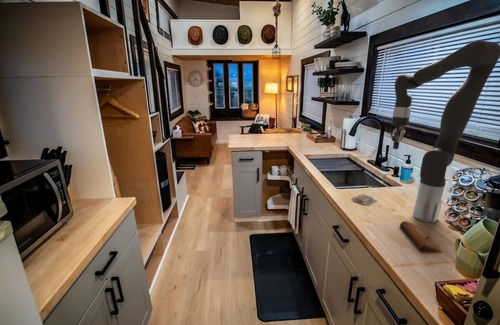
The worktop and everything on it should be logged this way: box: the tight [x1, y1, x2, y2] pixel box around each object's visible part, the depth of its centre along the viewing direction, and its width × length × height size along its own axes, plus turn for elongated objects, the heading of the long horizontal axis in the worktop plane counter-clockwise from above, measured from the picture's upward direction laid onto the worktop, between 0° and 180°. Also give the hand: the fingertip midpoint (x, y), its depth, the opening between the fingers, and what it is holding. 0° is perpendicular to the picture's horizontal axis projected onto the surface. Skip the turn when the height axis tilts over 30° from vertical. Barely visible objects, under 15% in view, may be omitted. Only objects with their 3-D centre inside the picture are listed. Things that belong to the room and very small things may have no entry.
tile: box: [353, 193, 374, 206], centre depth 136 cm, size 6×2×8 cm
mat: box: [350, 194, 378, 207], centre depth 137 cm, size 10×10×1 cm
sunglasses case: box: [399, 220, 443, 254], centre depth 103 cm, size 18×7×7 cm, turn 174°
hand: (395, 148), depth 136 cm, fingers closed
